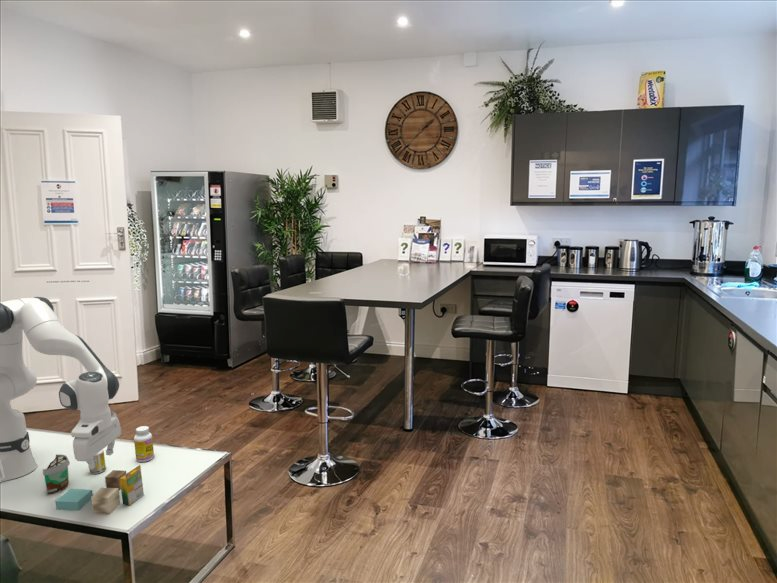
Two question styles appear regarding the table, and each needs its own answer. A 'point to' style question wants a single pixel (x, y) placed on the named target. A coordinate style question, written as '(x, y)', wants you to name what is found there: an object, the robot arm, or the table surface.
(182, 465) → the table surface
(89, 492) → the base brick
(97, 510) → the beech block
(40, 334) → the robot arm
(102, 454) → the supplement bottle
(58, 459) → the food container
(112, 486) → the walnut block
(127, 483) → the crayon box
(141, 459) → the supplement bottle
